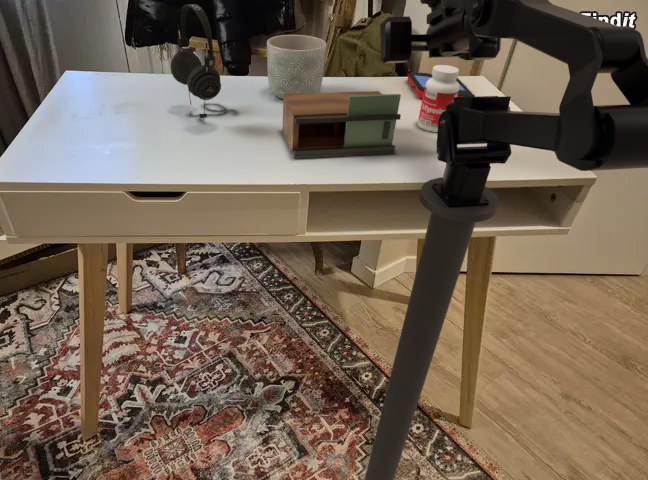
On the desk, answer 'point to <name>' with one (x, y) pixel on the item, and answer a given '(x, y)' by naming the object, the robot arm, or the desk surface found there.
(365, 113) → the sliding door
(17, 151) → the desk surface
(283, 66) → the planter
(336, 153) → the cabinet
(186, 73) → the headphones
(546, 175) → the desk surface
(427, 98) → the pill bottle
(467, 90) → the game console
